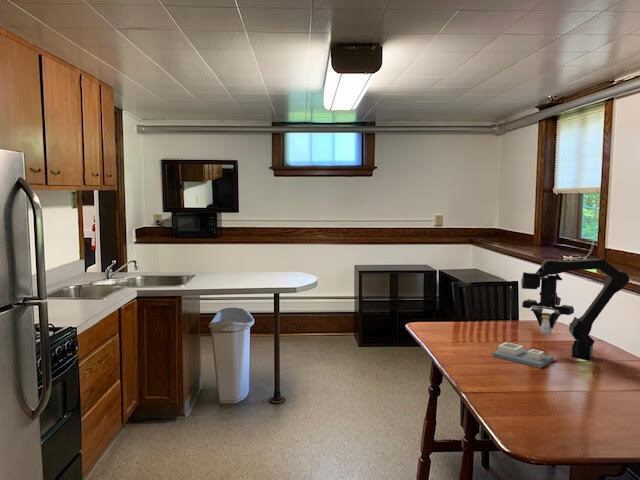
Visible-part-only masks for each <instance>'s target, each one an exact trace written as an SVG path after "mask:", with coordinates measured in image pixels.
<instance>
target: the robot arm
mask: <svg viewBox="0 0 640 480" xmlns="http://www.w3.org/2000/svg"><path fill="white" fill-rule="evenodd" d="M588 270H599V271H600V272H601V273H603V274H604V275H605V276H606V278H605V280H604V284H603V286H602V289H601V290H600V291H599V293H598V294H597V296H596V297H595V299H594V300H593V301H592V303H590V305H589V306H588V308H586V310H585V312H584V313H583V314H582V315H581V316H580V317H579V318H577V316H574V318H573V319H572V321H571V322H570V323H569V328H568V331H569V333H570V335H571V336H572V337H573V338H574V341H573V344H571V357H572V358H575V359H580V360H584V361H590V360H592V359H593V358H594V355H593V351H594V350H593V346H594V343H595V340H594V339H593V338H592V337H591V336H590V333H591V330H592V328H593V324H594V322H595V321H596V320H597V318H598V317H599V315H600V314H601V312H602V311H603V310H604V309H605V307H606V306H607V304H608V303H609V302H610V300H611V299H612V298H613V297H614V295H615V294H617V293H618V292H619V291H621V290H622V289H624V288H625V287H626V286H627V285H628V283H629V282H630V278H629V277H630V276H629V275H628V273H626V272H624V271H621V270H619V269H617V268H616V267H614V266H612V265H611V264H609V262H607V261H606V260H605V259H604V258H603V259H602V258H599V257H598V258H593V259H579V260H577V259H576V260H560V259H552V258H550V259H549V258H547V259H544V260H543V261H542V262H541V264H540V267H539V269H538V270H536V271H535V272H534V273H533V272H525V271H524V272H522V276H521V277H522V278H521V280H520V282H521V283H520V286H521V289H523V290H538V289H539V288H540V292H539V296H540V299H539V301H540V302H538V301H537V300H535V299H531V298H530V299H529V298H528V299H525V300H524V301H522V308H524V309H530V312H533V314H534V317H535V318H536V320H537V323H538V325H539V327H541V320H542V317H540V314H541V313H543V310H544V309H545V310H550V311H551V310H552V311H554V312H552V313H551V314H552V318H551V329H552V330H553V329H554V327H555V325H556V323H557V321H558V319H559V318H560V316H561V315H564V316H571V315H572V314H574V313H575V308H574V306H573V305H567V304H562V305H561V301H562V298H561V297H559V296H558V292H557V283H558V281H563V278H562V277H561V276H560V274H562V273H565V272H570V271H588Z"/></svg>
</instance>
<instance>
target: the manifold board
mask: <svg viewBox="0 0 640 480" xmlns="http://www.w3.org/2000/svg"><path fill="white" fill-rule="evenodd" d="M492 357H494V358H498V359H502V360H506V361H511V362H515V363H518V364H521V365H526V366H530V367H535V368H538V369H542V368H543V367H545V366H547V365H548V364H550V363H551V362H554V356H551V355H548V354H545V351H543V350H538V349H534V348H531V349H530V350H527V349H526V350H525V349H524V345H521V344H518V343H517V344H516V343H513V342H512V343H511V342H506V341H505V342H503V343H501V344H499V345H498V349H497V350H496V351H493V352H492Z"/></svg>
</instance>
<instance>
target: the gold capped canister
mask: <svg viewBox="0 0 640 480" xmlns="http://www.w3.org/2000/svg"><path fill="white" fill-rule="evenodd" d="M540 317H542V320H541V326H540V333H541V334H542V335H552V331H553V329H551V318H552V313H550V312H542V313H541V314H540Z"/></svg>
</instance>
